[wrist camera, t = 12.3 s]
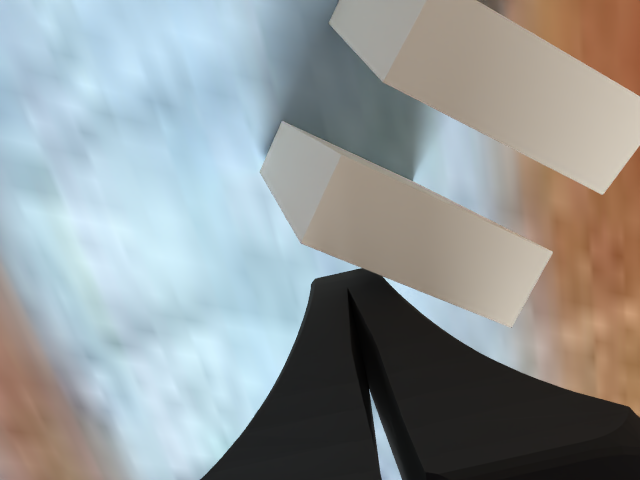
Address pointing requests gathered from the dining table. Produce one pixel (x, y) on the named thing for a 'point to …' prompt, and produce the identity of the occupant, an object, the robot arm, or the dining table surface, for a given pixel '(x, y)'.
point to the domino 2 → (399, 227)
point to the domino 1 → (498, 82)
